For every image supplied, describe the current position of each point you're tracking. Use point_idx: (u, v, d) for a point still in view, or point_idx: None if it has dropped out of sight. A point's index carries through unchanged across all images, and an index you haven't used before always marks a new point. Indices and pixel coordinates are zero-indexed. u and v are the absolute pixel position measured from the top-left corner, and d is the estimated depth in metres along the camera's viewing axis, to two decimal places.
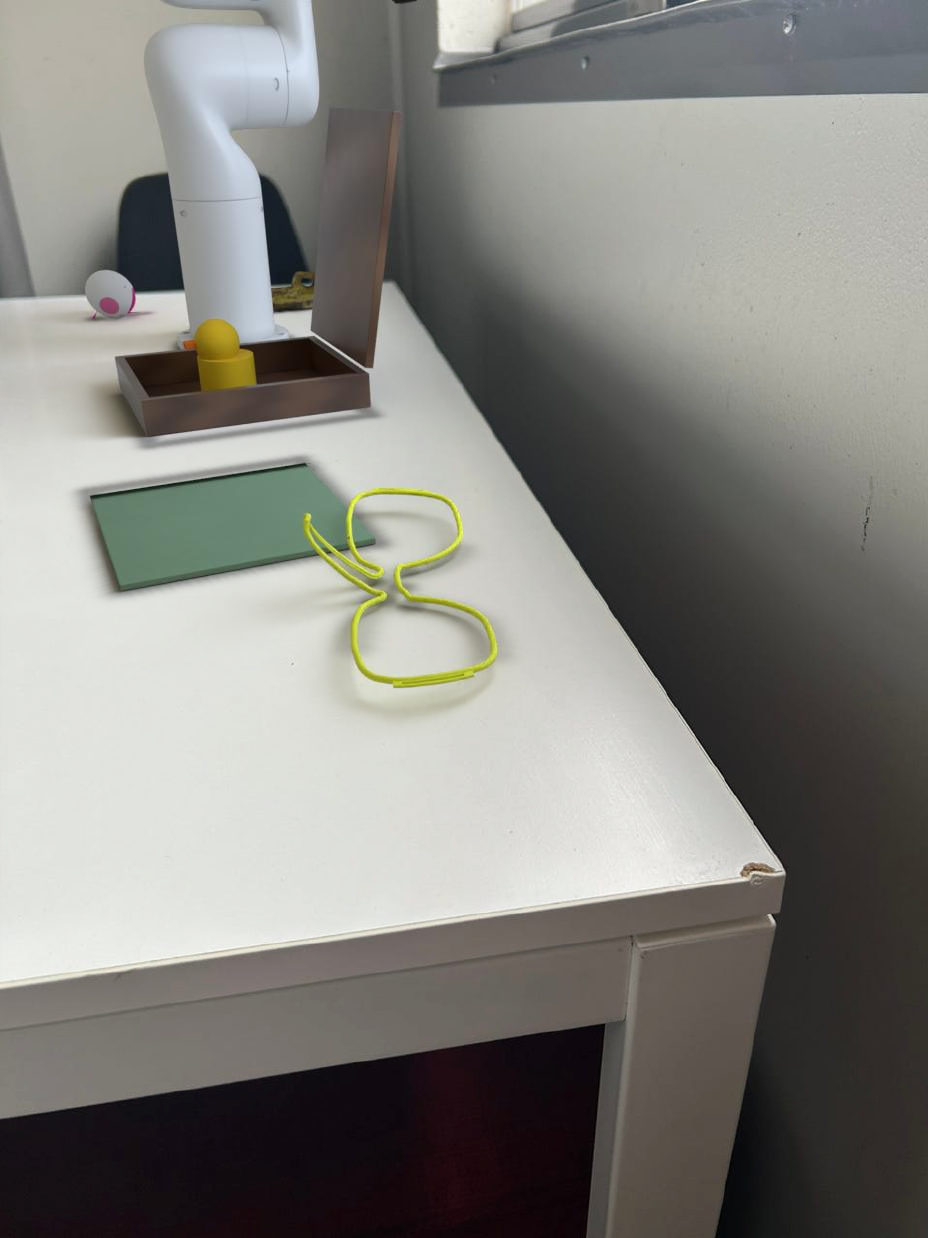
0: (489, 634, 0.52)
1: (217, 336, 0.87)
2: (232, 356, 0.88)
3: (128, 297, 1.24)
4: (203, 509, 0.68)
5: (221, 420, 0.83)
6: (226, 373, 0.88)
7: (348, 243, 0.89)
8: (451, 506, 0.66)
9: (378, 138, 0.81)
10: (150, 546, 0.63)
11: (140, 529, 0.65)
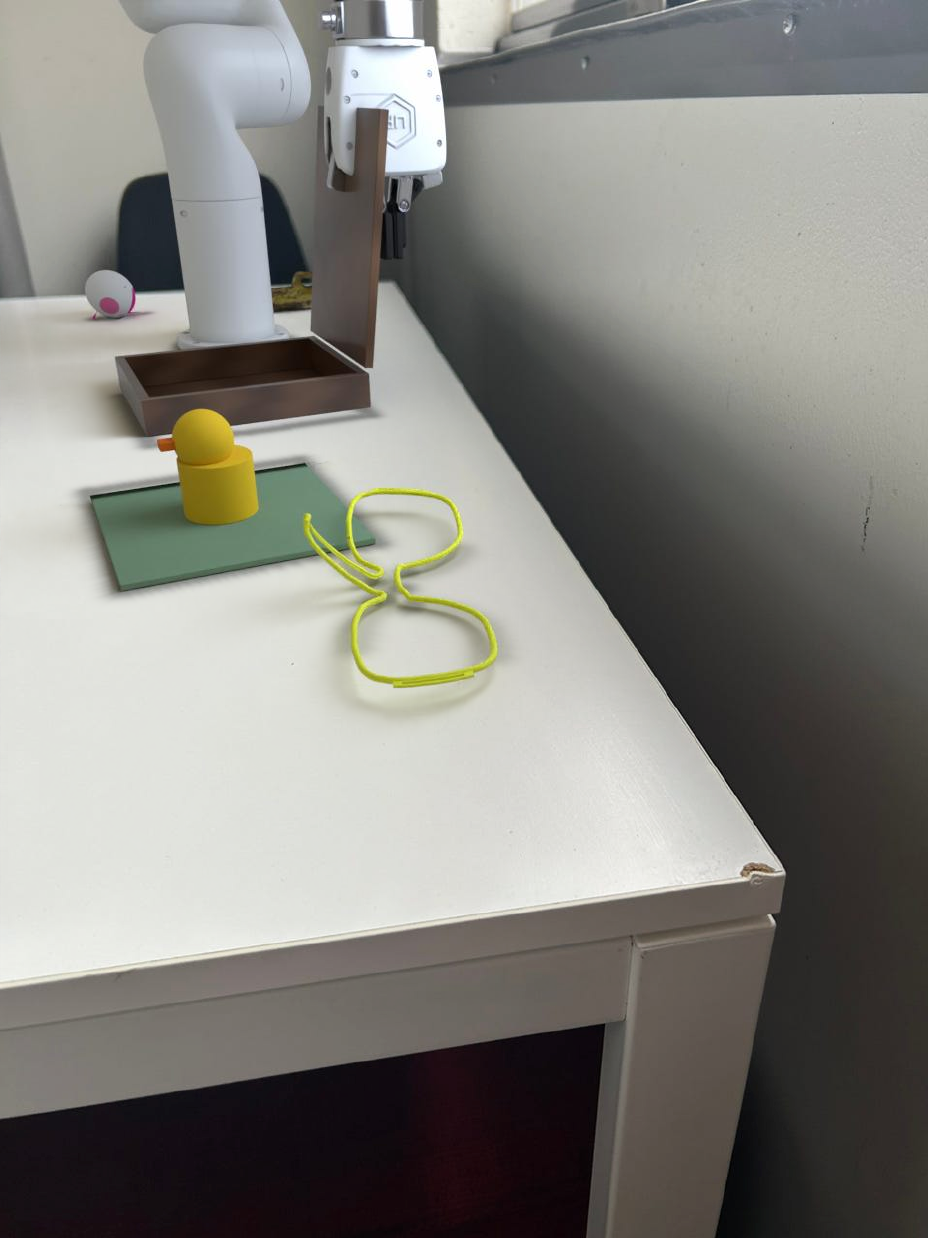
0: (489, 634, 0.52)
1: (203, 434, 0.64)
2: (224, 459, 0.65)
3: (128, 297, 1.24)
4: None
5: None
6: (216, 483, 0.65)
7: (343, 243, 0.89)
8: (451, 506, 0.66)
9: (367, 137, 0.81)
10: (150, 546, 0.63)
11: (140, 529, 0.65)
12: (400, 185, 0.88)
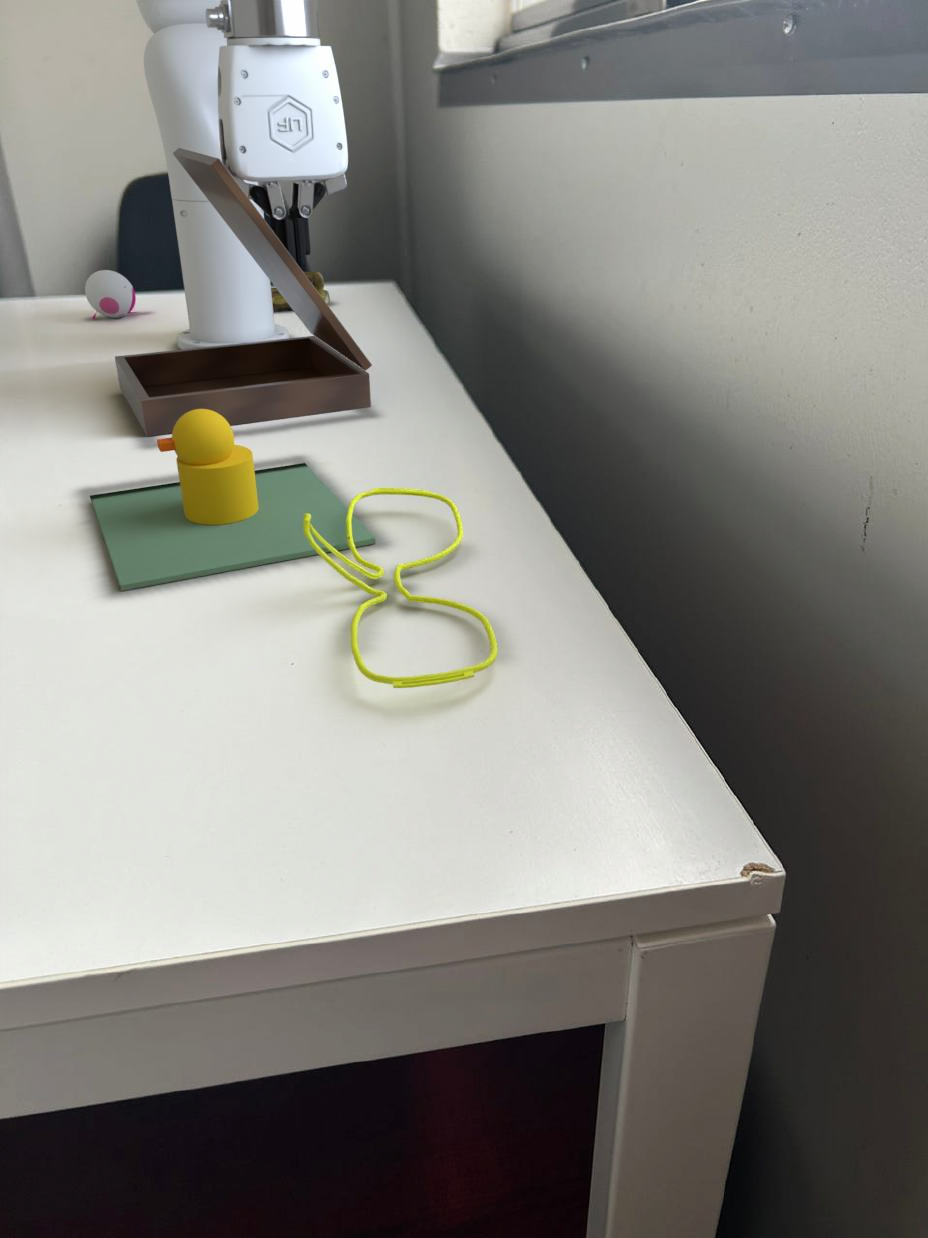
0: (489, 634, 0.52)
1: (203, 434, 0.64)
2: (224, 459, 0.65)
3: (128, 297, 1.24)
4: None
5: None
6: (216, 483, 0.65)
7: (275, 269, 0.87)
8: (451, 506, 0.66)
9: (222, 186, 0.78)
10: (150, 546, 0.63)
11: (140, 529, 0.65)
12: (300, 190, 0.85)
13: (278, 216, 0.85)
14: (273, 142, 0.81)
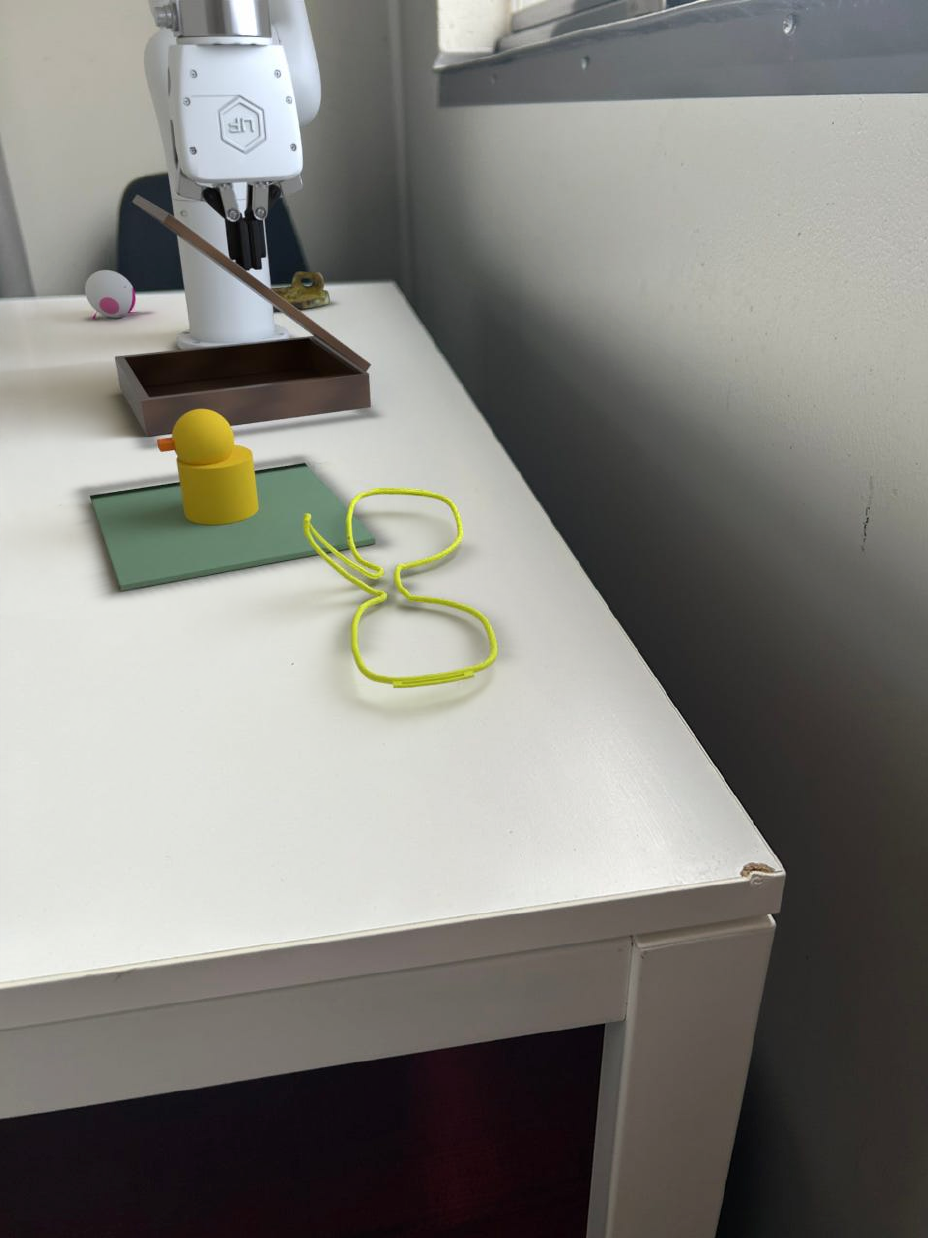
0: (489, 634, 0.52)
1: (203, 434, 0.64)
2: (224, 459, 0.65)
3: (128, 297, 1.24)
4: None
5: None
6: (216, 483, 0.65)
7: None
8: (451, 506, 0.66)
9: None
10: (150, 546, 0.63)
11: (140, 529, 0.65)
12: (254, 192, 0.83)
13: (232, 218, 0.83)
14: (224, 143, 0.79)
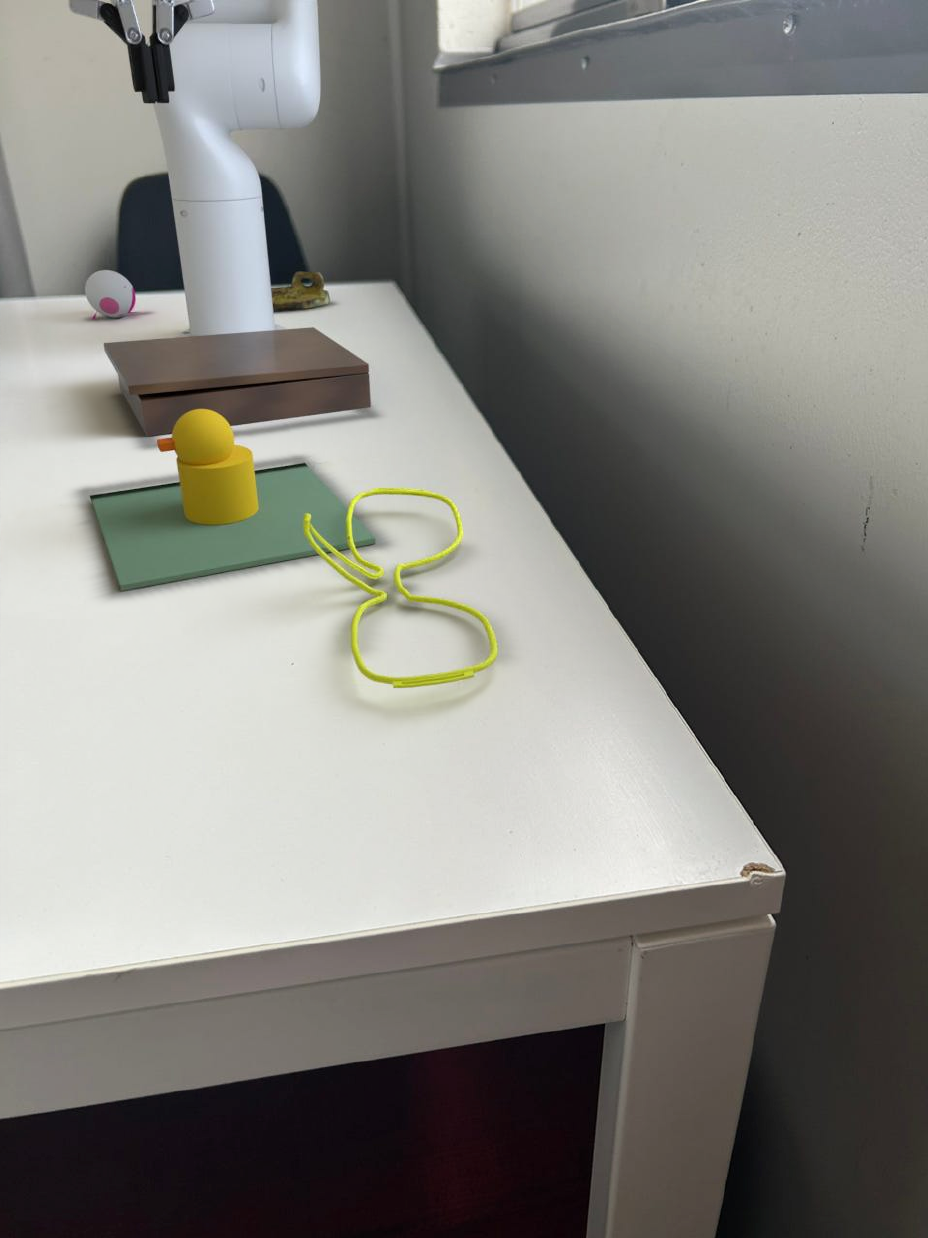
0: (489, 634, 0.52)
1: (203, 434, 0.64)
2: (224, 459, 0.65)
3: (128, 297, 1.24)
4: None
5: None
6: (216, 483, 0.65)
7: None
8: (451, 506, 0.66)
9: None
10: (150, 546, 0.63)
11: (140, 529, 0.65)
12: (158, 10, 0.75)
13: (133, 40, 0.75)
14: None
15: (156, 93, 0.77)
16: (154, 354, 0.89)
